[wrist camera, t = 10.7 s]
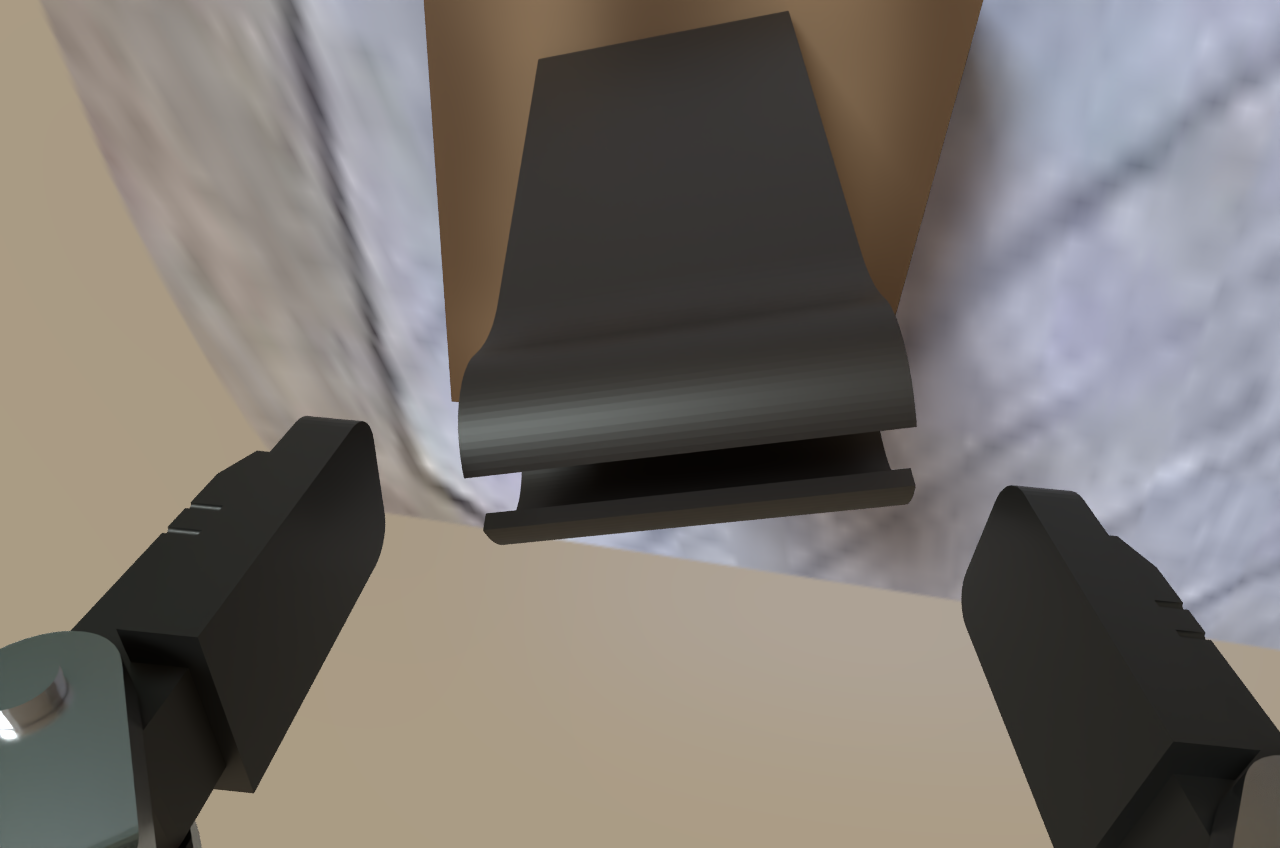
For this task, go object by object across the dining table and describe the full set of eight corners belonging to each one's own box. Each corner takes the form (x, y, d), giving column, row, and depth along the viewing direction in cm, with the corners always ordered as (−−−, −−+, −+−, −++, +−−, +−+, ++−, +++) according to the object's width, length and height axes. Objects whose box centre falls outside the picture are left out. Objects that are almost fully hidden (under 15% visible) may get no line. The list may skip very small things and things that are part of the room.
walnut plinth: (944, -46, 20) (996, -46, 17) (838, 379, 27) (860, 439, 23) (462, -88, 20) (416, -98, 17) (481, 345, 27) (451, 401, 24)
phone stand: (808, 352, 22) (911, 689, 12) (609, 377, 23) (546, 712, 13) (789, 9, 17) (929, 78, 7) (541, 55, 18) (352, 175, 8)
